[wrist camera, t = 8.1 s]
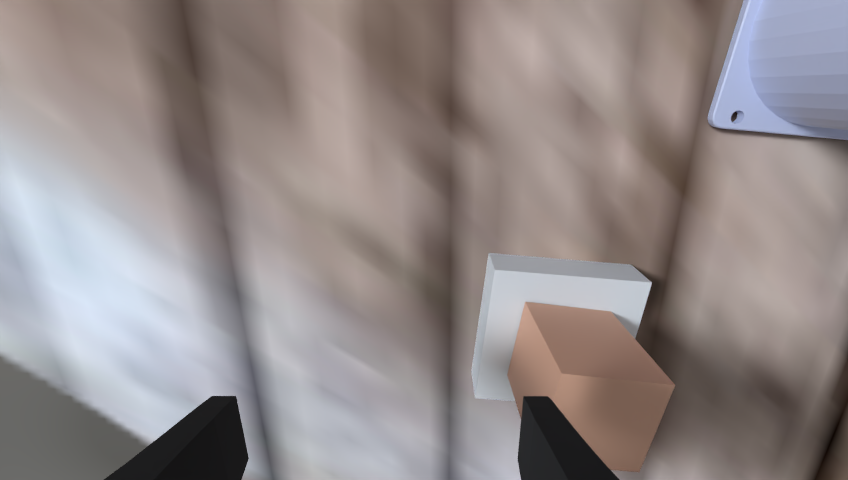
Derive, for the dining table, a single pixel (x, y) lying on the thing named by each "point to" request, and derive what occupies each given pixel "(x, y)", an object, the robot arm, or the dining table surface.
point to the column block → (591, 379)
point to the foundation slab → (545, 284)
